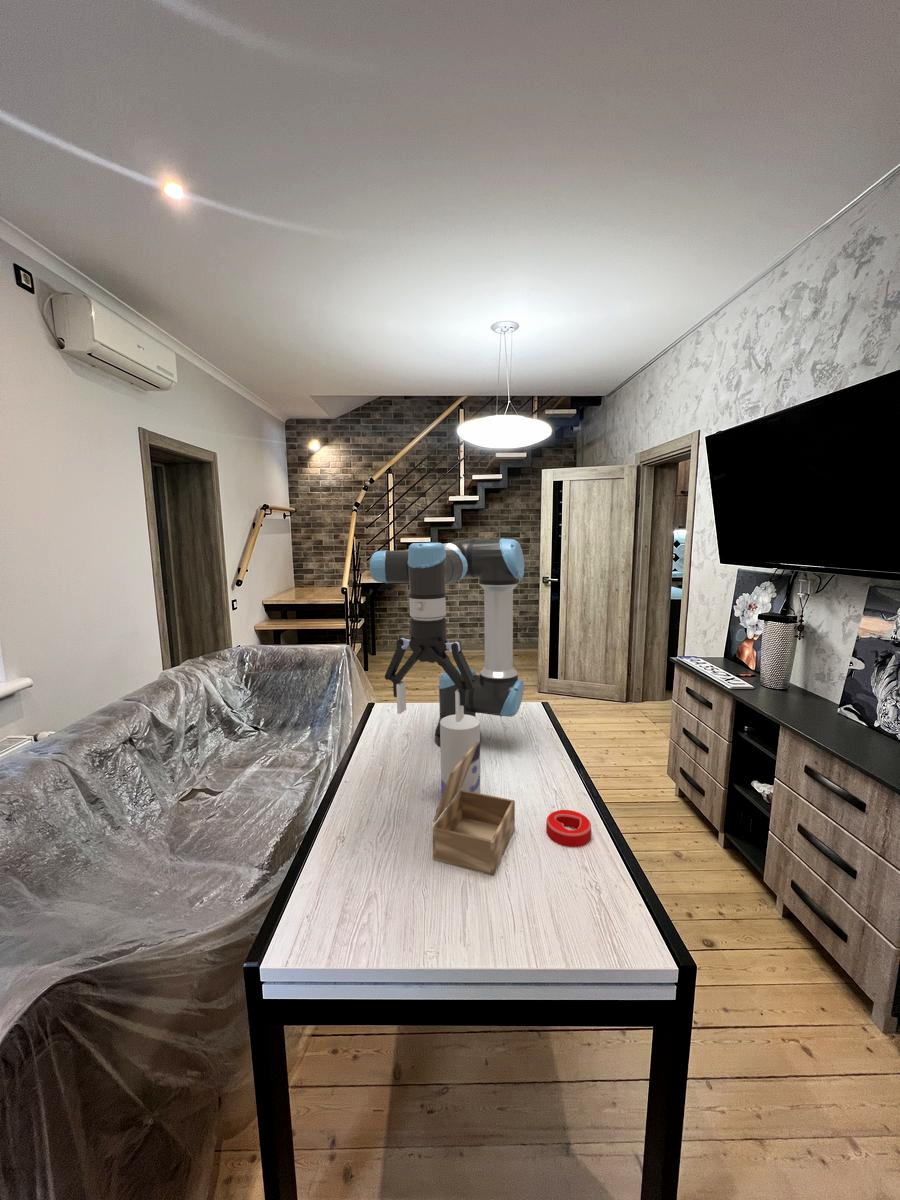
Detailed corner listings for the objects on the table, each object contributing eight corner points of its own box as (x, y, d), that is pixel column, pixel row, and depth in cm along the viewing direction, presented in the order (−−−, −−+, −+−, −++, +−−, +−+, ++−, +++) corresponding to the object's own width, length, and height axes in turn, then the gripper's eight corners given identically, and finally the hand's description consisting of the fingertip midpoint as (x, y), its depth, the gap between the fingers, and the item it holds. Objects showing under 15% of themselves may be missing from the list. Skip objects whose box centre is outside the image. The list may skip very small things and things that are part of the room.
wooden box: (461, 817, 114) (460, 789, 113) (514, 829, 109) (514, 800, 108) (432, 859, 99) (432, 828, 98) (493, 875, 94) (493, 842, 93)
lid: (462, 786, 112) (459, 784, 113) (478, 741, 109) (476, 740, 110) (435, 822, 98) (432, 821, 99) (453, 773, 95) (450, 771, 95)
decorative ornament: (598, 833, 108) (599, 820, 107) (576, 854, 101) (577, 840, 100) (561, 816, 114) (561, 804, 114) (537, 835, 107) (538, 821, 107)
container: (477, 808, 118) (476, 730, 115) (437, 804, 120) (435, 727, 117) (482, 787, 127) (482, 714, 125) (445, 784, 129) (444, 712, 127)
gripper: (366, 617, 101) (370, 714, 104) (478, 624, 92) (479, 730, 95) (384, 611, 108) (387, 702, 111) (490, 617, 99) (491, 716, 102)
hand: (430, 715), depth 103 cm, fingers open, 13 cm apart
